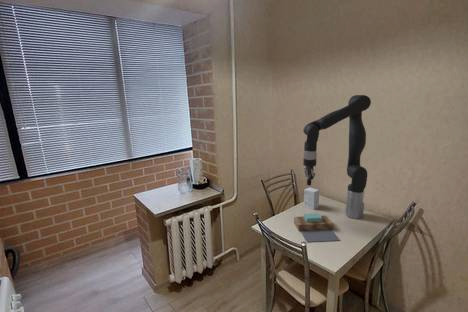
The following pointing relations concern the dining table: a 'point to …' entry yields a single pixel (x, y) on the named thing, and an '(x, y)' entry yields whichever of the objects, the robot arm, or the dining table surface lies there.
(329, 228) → the brown wooden tray
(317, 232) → the mat
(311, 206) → the small box
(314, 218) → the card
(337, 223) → the dining table surface
